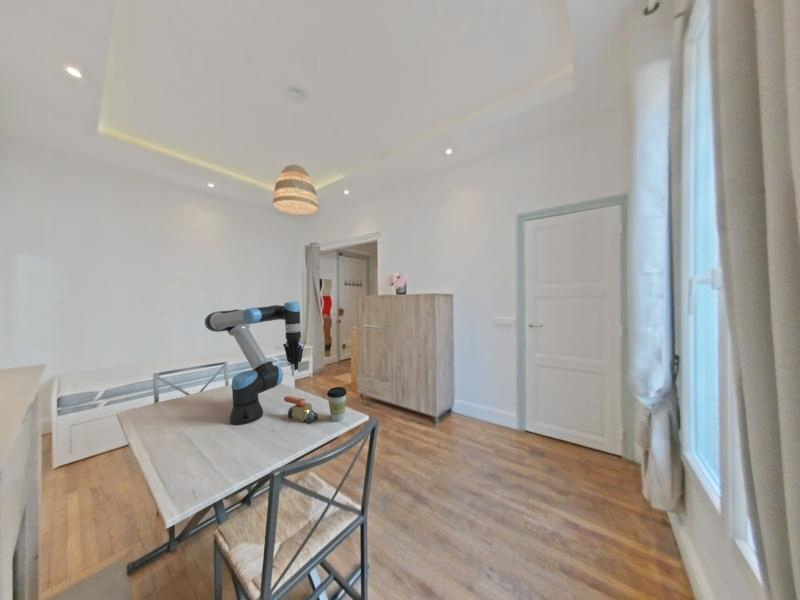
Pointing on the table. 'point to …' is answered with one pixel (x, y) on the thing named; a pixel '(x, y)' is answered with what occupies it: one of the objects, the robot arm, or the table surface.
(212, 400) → the table surface
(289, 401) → the lever
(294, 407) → the pipe run
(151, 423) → the table surface
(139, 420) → the table surface
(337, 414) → the coffee cup
